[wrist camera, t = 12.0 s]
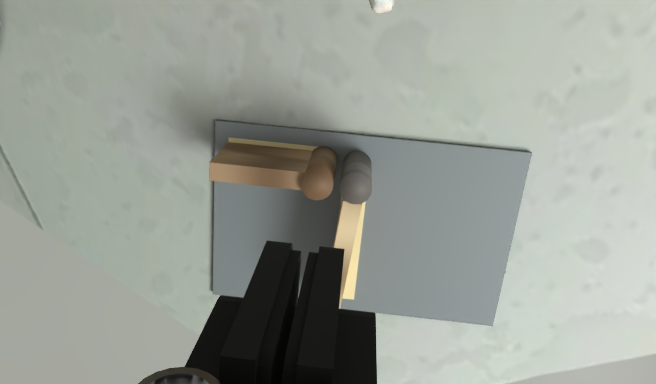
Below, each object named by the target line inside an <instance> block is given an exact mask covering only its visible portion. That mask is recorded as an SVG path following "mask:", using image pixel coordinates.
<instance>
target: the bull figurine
mask: <svg viewBox="0 0 656 384" xmlns="http://www.w3.org/2000/svg"><path fill="white" fill-rule="evenodd" d="M369 2H370V5H371V8H372V9H373V11H374V12H375V13H385V12H388V11H390V10H391V9H392V7H393V5H394V0H369Z"/></svg>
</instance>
